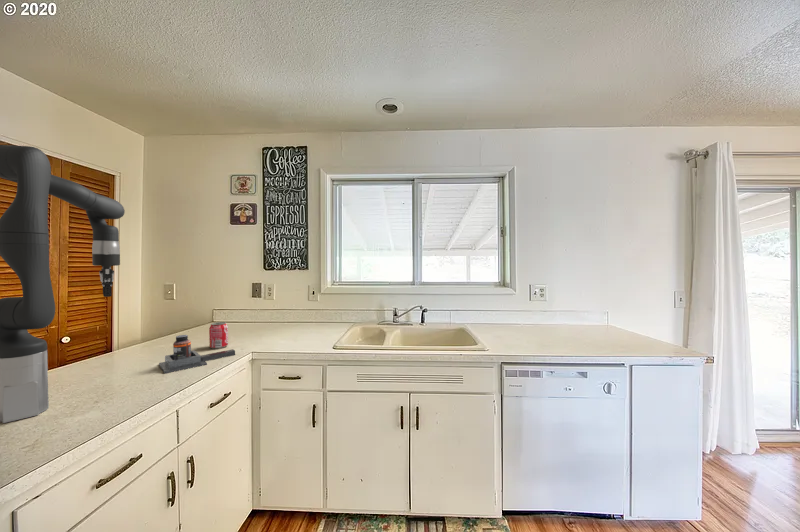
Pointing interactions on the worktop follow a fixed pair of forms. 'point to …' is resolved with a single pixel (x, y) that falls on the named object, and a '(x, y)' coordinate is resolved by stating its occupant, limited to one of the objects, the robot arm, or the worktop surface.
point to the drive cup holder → (191, 360)
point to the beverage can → (218, 335)
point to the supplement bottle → (182, 347)
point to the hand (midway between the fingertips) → (107, 295)
